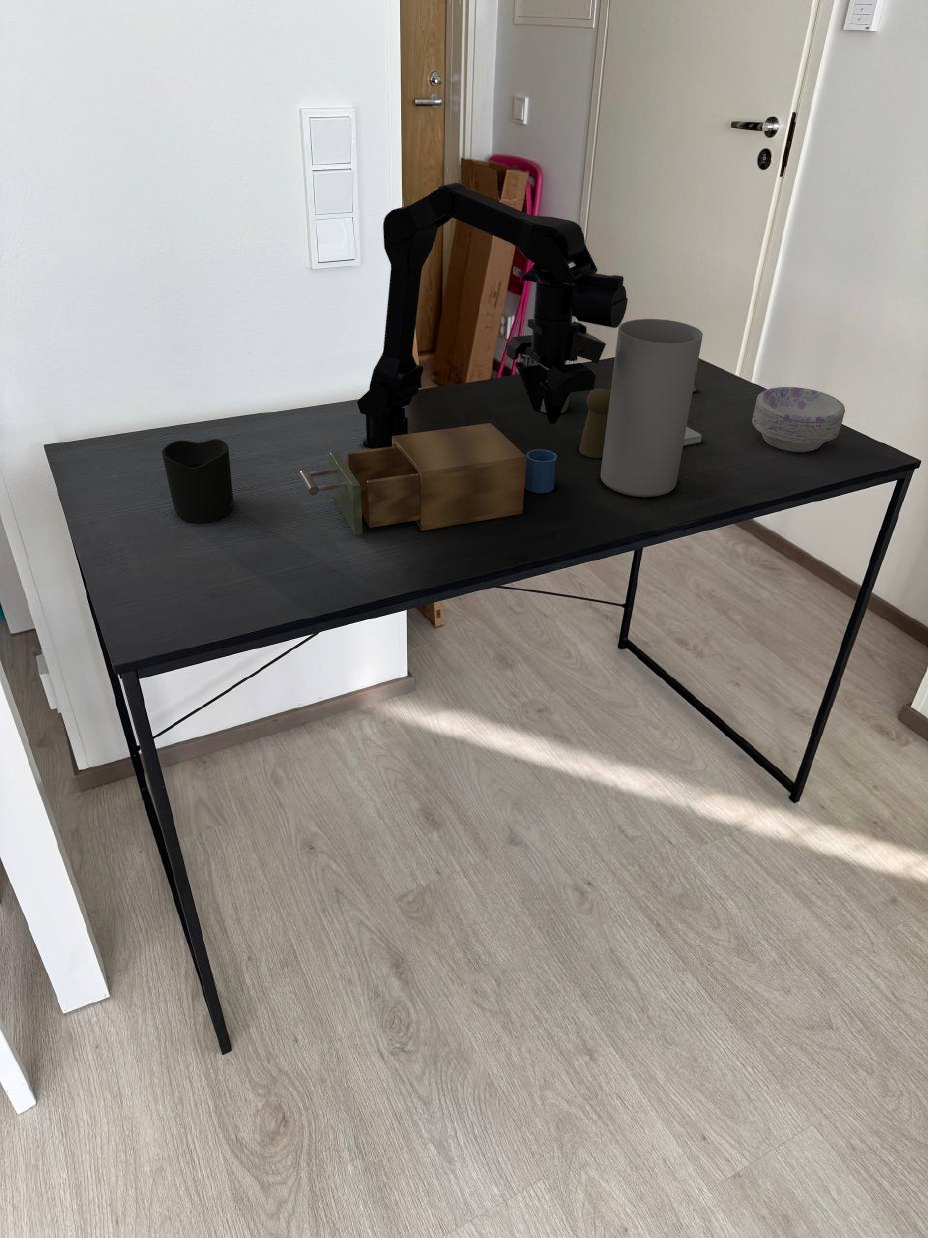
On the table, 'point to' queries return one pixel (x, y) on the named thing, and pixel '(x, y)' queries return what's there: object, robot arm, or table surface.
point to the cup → (540, 471)
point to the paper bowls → (797, 418)
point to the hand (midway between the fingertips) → (544, 416)
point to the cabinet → (465, 474)
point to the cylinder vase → (649, 405)
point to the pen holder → (199, 479)
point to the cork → (595, 423)
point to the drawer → (371, 487)
